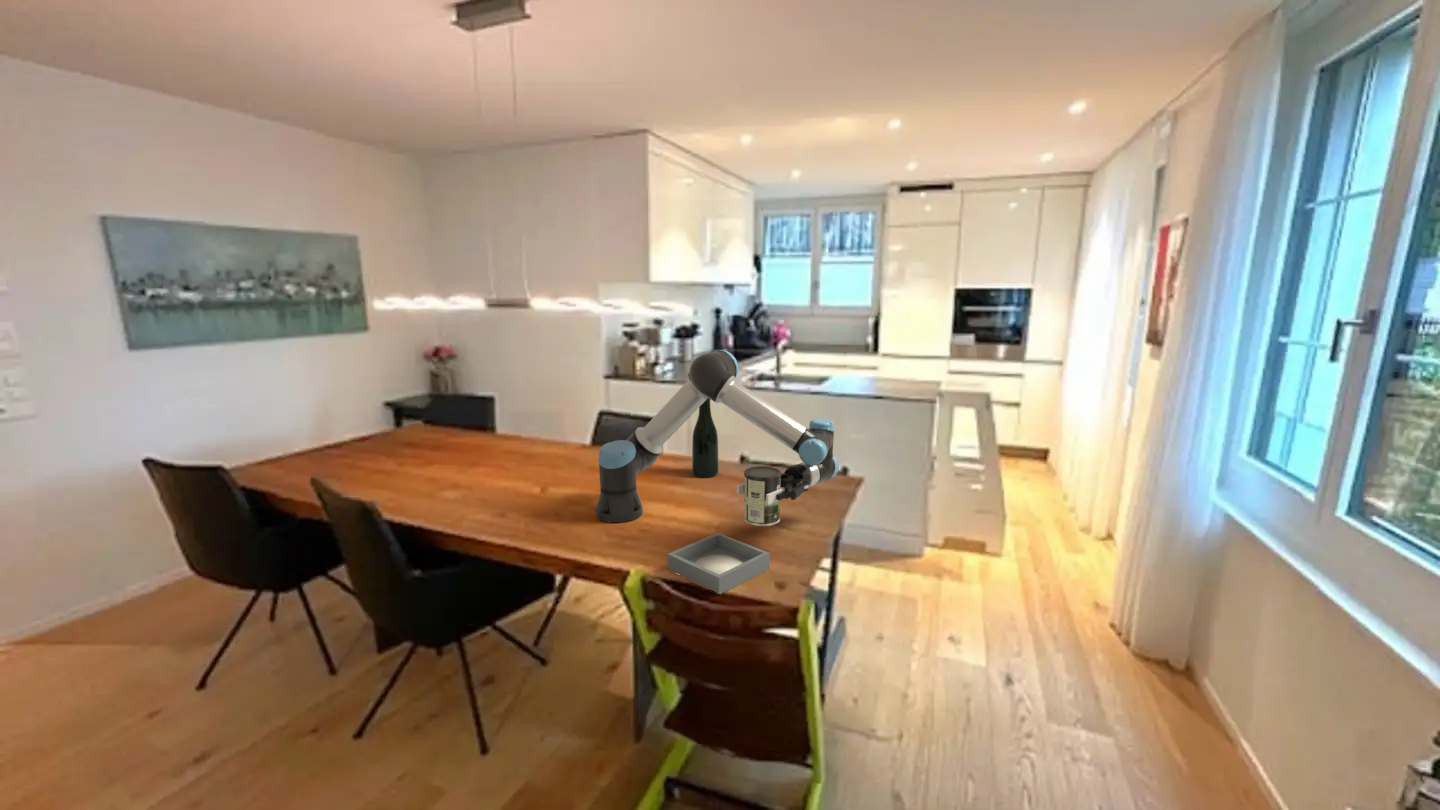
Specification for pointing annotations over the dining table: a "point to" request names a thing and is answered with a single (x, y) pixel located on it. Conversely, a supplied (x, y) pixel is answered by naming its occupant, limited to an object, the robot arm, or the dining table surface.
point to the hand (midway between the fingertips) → (752, 494)
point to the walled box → (718, 562)
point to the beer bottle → (705, 444)
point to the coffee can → (761, 495)
